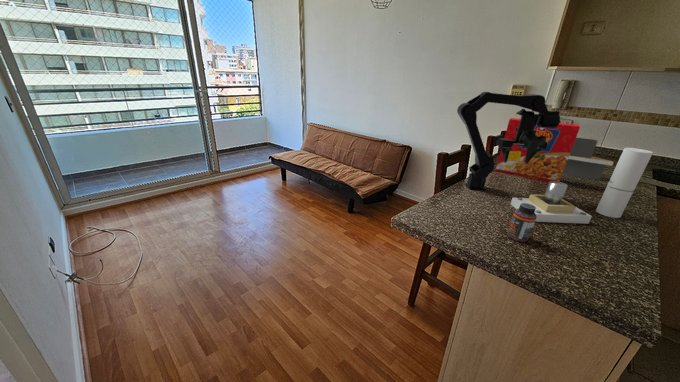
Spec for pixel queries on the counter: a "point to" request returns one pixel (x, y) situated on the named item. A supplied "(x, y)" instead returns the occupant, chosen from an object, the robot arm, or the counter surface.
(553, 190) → the spout can
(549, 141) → the pasta box
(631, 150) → the cylindrical container
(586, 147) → the architectural model
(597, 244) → the counter surface
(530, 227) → the supplement bottle
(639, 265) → the counter surface
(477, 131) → the robot arm
